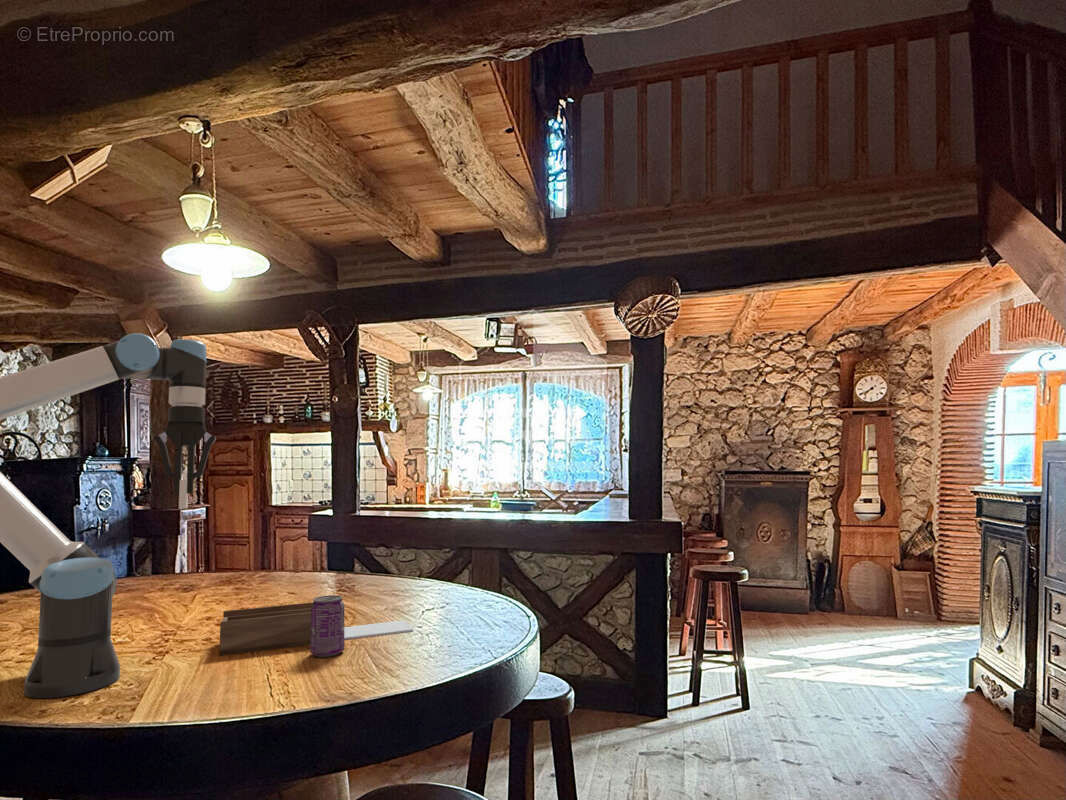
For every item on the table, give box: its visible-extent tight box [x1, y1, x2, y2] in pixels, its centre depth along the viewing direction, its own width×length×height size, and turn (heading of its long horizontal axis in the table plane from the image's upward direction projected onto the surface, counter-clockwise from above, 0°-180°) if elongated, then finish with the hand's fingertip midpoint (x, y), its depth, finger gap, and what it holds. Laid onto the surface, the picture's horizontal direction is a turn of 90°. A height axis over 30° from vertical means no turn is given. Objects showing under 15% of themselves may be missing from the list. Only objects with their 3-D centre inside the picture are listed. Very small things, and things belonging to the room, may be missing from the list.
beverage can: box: [310, 594, 345, 658], centre depth 143 cm, size 7×7×12 cm
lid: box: [344, 619, 414, 641], centre depth 161 cm, size 11×21×4 cm, turn 112°
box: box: [219, 601, 314, 657], centre depth 153 cm, size 12×22×7 cm, turn 112°
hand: (183, 508), depth 149 cm, fingers closed
